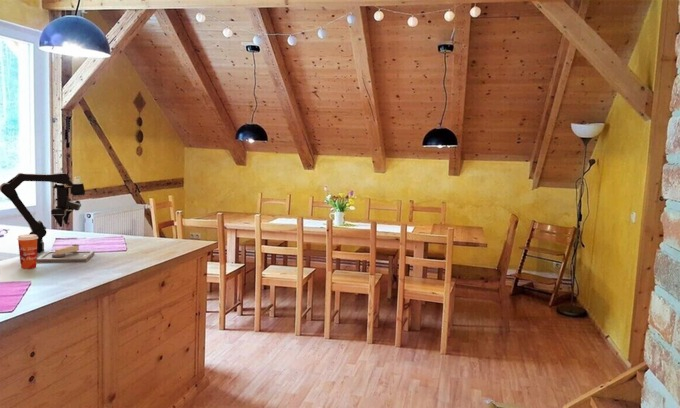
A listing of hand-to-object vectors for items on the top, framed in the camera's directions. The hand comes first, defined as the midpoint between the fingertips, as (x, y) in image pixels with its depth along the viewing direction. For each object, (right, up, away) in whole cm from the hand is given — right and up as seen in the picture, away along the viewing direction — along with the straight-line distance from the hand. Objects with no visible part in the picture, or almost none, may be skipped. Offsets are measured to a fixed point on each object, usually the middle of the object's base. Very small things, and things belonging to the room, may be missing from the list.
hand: (63, 225), depth 270 cm
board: (+11, -16, -18) cm, 26 cm away
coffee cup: (+4, -18, -37) cm, 41 cm away
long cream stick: (+10, -14, -16) cm, 24 cm away
